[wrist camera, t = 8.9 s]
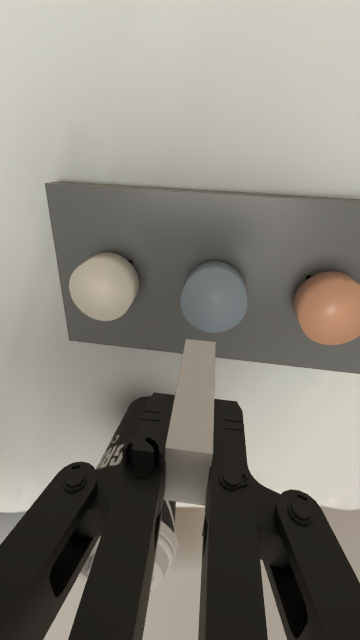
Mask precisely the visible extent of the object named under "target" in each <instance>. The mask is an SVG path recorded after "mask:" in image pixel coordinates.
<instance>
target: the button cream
mask: <svg viewBox="0 0 360 640" xmlns="http://www.w3.org/2000/svg"><path fill="white" fill-rule="evenodd" d="M69 291H70V295H71V298H72V300H73V302H74V303H75V305H76V306H77V307H78V308H79V309H80V310H81V311H82V312H83V313H84V314H86V315H87V316H89V317H91V318H93V319H96V320H100V321H111V320H115V319H118V318H119V317H121V316H122V315H124V314H125V312H126V311H127V310H128V308H129V307H130V305H131V304H132V302H133V301H134V299H135V298H136V296H137V294H138V291H139V278H138V275H137V272H136V270H135V269H134V267H133V266H132V265H131V263H130V262H128V261H127V260H126V259H125V258H123V257H122V256H120V255H117V254H114V253H109V252H104V253H99V254H96V255H94V256H92V257H91V258H89V259H88V260H87V261H85V262H84V263H83V264H81V265H80V266H78V267H77V268H76V269H75V270H74V271H73V273H72V275H71V277H70V281H69Z"/></svg>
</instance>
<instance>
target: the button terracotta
mask: <svg viewBox="0 0 360 640" xmlns="http://www.w3.org/2000/svg"><path fill="white" fill-rule="evenodd" d="M293 308H294V312H295V315H296V317H297V319H298V321H299V324H300V326H301V328H302V330H303V332H304V333H305V335H306V336H307V337H308V338H310V339H311V340H313V341H314V342H317V343H320V344H324V345H339V344H343V343H347V342H349V341H352V340H354V339H355V338H357V337H359V336H360V285H359V284H358V283H357V282H356V281H355V280H354V279H353V278H352V277H350V276H349V275H347V274H345V273H341V272H336V271H329V272H323V273H319V274H316V275H314V276H312V277H311V278H309V279H308V280H306V281H305V282H304V283H303V284H302V285H301V286H300V287H299V289H298V290H297V292H296V294H295V297H294V301H293Z"/></svg>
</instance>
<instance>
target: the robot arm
mask: <svg viewBox="0 0 360 640" xmlns="http://www.w3.org/2000/svg"><path fill="white" fill-rule="evenodd" d="M215 344H216V342H210V341H200V340H190V339H186V341H185V346H184V352H183V357H182V362H181V367H180V373H179V378H178V383H177V388H176V394H175V395H169V394H160V393H153V395H152V396H151V397H150V398H149V399H148V400H147V402H146V405H145V408H144V412H143V415H142V418H141V421H140V425H139V428H138V431H137V435H136V436H133V437H131V438H130V439H128V440H127V441H126V442H125V444H124V445H123V447H122V457H123V462H122V463H120V464H118V465H116V466H112V467H108V468H103V469H97V470H95V468H94V467H93V466H92V465H90V464H89V463H86V462H76V463H72V464H70V465H68V466H66V467H64V468H63V469H62V470H61V471H60V472H59V473H58V474H57V475H56V476H55V477H54V479H53V480H52V481H51V482H50V484H49V485H48V486H47V487H46V489H45V490H44V491H43V492H42V494H41V495H40V496H39V497H38V499H37V500H36V501H35V502H34V504H33V505H32V506H31V507H30V509H29V510H28V511H27V512H26V514H25V515H24V516H23V517H22V519H21V520H20V521H19V522H18V524H17V525H16V526H15V527H14V529H13V530H12V531H11V532H10V534H9V535H8V536H7V537H6V539H5V540H4V541H3V542H2V543H1V545H0V640H43V639H44V637H45V635H46V633H47V631H48V630H49V628H50V626H51V624H52V622H53V621H54V619H55V617H56V615H57V613H58V612H59V610H60V608H61V606H62V604H63V603H64V601H65V599H66V597H67V595H68V593H69V592H70V590H71V588H72V586H73V584H74V583H75V581H76V579H77V577H78V575H79V574H80V572H81V570H82V568H83V566H84V564H85V563H86V561H87V559H88V557H89V555H90V554H91V552H92V550H93V548H94V546H95V545H96V543H97V541H98V539H99V537H100V536H101V537H100V540H99V543H98V547H97V550H96V553H95V556H94V559H93V563H92V566H91V569H90V572H89V575H88V578H87V582H86V585H85V588H84V591H83V595H82V598H81V601H80V604H79V607H78V610H77V613H76V617H75V620H74V623H73V626H72V629H71V633H70V636H69V639H68V640H142V637H143V631H144V625H145V618H146V612H147V606H148V600H149V593H150V587H151V581H152V575H153V568H154V562H155V556H156V550H157V543H158V537H159V531H160V525H161V518H162V505H163V499H164V500H169V501H176V502H183V503H190V504H197V505H204V506H205V518H204V525H203V532H202V536H203V551H202V572H201V593H200V614H199V637H198V640H268V638H267V627H266V617H265V607H264V597H263V586H262V576H261V566H260V559H261V560H263V562H264V565H265V569H266V572H267V575H268V578H269V582H270V585H271V588H272V591H273V594H274V597H275V601H276V604H277V608H278V611H279V614H280V617H281V621H282V624H283V627H284V630H285V634H286V637H287V640H360V583H359V581H358V579H357V577H356V575H355V573H354V571H353V569H352V567H351V565H350V563H349V561H348V560H347V558H346V556H345V554H344V552H343V550H342V548H341V546H340V544H339V542H338V540H337V538H336V536H335V535H334V533H333V531H332V529H331V527H330V525H329V523H328V521H327V519H326V517H325V515H324V513H323V511H322V509H321V508H320V507H319V505H318V504H317V502H316V501H315V500H314V499H313V498H311V497H310V496H309V495H308V494H306V493H303V492H301V491H299V490H288V491H285V492H283V493H282V494H279V493H277V492H275V491H272V490H270V489H268V488H266V487H264V486H263V485H261V484H260V483H258V482H257V481H256V480H255V479H254V478H253V476H252V475H251V473H250V471H249V469H248V465H247V457H246V446H245V435H244V424H243V412H242V410H241V408H240V406H239V405H238V403H237V401H228V400H219V399H214V386H215Z"/></svg>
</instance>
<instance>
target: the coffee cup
mask: <svg viewBox="0 0 360 640" xmlns="http://www.w3.org/2000/svg"><path fill="white" fill-rule="evenodd" d="M149 398H150V397H143V398H139V399H137V400H135V401H133V402H132V403H131V404H130V406H129V407H128V409H127V411H126V413H125V415H124V417H123V419H122V421H121V423H120V425H119V426H118V428H117V430H116V432H115V434H114V436H113V438H112V440H111V442H110V444H109V446H108V447H107V449H106V451H105V453H104V455H103V457H102V459H101V461H100V463H99V465H98V466H97V468H96V470H97V469H103V468H108V467H112V466H116V465H118V464H120V463H122V462H123V457H122V447H123V445H124V444H125V442H126V441H127V440H128V439H130V438H131V437H133V436H136V435H137V431H138V428H139V425H140V421H141V418H142V415H143V412H144V408H145V405H146V402H147V400H148V399H149ZM175 507H176V501H169V500H164V499H163V505H162V518H161V525H160V531H159V537H158V543H157V550H156V556H155V562H154V568H153V575H152V581H151V587H150V591H152V590H154V589H156V588H158V587H159V586H160V585H161V584H162V582H163V579H164V577H165V574H166V573H167V572H168V571H169V570H170V568H171V567H172V565H173V563H174V561H175V559H176V555H177V553H178V550H179V545H178V540H177V538H176V536H175V534H174V524H175ZM100 537H101V536H100ZM100 537H99V539H98V541H97V543H96V545H95V546H94V548H93V550H92V552H91V554H90V555H89V557H88V559H87V561H86V563H85V564H84V566H83V568H82V570H81V572H80V574H79V575H78V577H79V578H80V579H82V580H84V581H86V582H87V578H88V575H89V572H90V569H91V566H92V563H93V559H94V556H95V553H96V550H97V547H98V543H99V540H100Z"/></svg>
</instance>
